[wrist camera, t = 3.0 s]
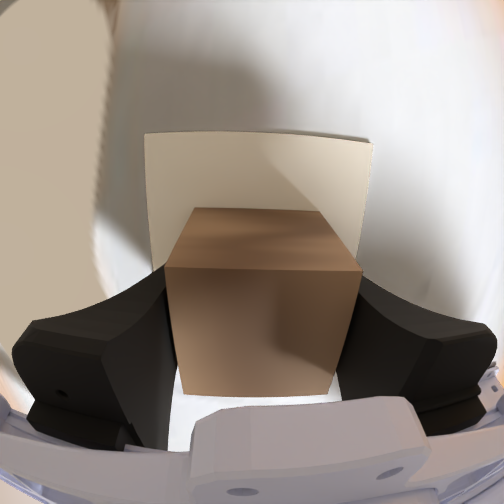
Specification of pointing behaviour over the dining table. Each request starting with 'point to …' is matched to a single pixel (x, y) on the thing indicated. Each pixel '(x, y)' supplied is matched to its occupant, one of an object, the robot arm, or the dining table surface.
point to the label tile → (253, 179)
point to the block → (259, 302)
